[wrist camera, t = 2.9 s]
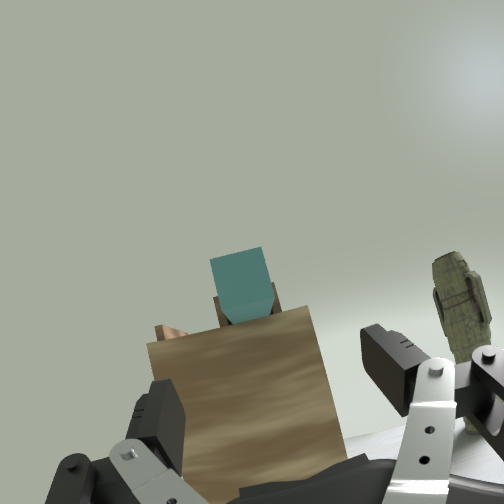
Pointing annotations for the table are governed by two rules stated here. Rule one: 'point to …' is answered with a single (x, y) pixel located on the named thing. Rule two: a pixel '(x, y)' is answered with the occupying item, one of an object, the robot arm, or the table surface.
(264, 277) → the block
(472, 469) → the table surface
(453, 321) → the stone statue
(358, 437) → the table surface
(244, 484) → the stand
